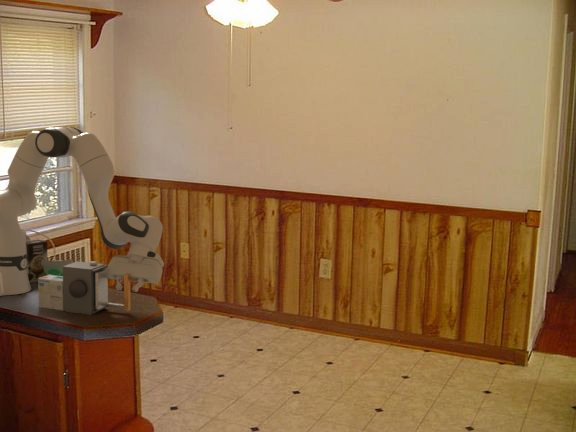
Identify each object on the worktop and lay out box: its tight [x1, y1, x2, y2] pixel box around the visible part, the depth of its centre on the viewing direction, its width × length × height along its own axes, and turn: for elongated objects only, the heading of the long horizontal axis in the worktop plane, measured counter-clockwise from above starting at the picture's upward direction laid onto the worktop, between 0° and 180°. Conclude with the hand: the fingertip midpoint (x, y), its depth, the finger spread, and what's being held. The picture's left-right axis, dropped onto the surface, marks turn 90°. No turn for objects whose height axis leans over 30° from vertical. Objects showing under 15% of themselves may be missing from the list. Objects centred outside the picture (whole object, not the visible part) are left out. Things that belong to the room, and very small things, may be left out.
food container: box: [41, 258, 74, 276], centre depth 296 cm, size 12×6×10 cm, turn 104°
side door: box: [95, 268, 131, 312], centre depth 259 cm, size 10×6×14 cm, turn 73°
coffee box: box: [26, 239, 48, 284], centre depth 301 cm, size 9×6×16 cm
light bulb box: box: [37, 275, 64, 312], centre depth 265 cm, size 11×7×11 cm, turn 70°
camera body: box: [63, 260, 108, 316], centre depth 261 cm, size 12×11×17 cm
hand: (126, 290), depth 259 cm, fingers open, 5 cm apart
